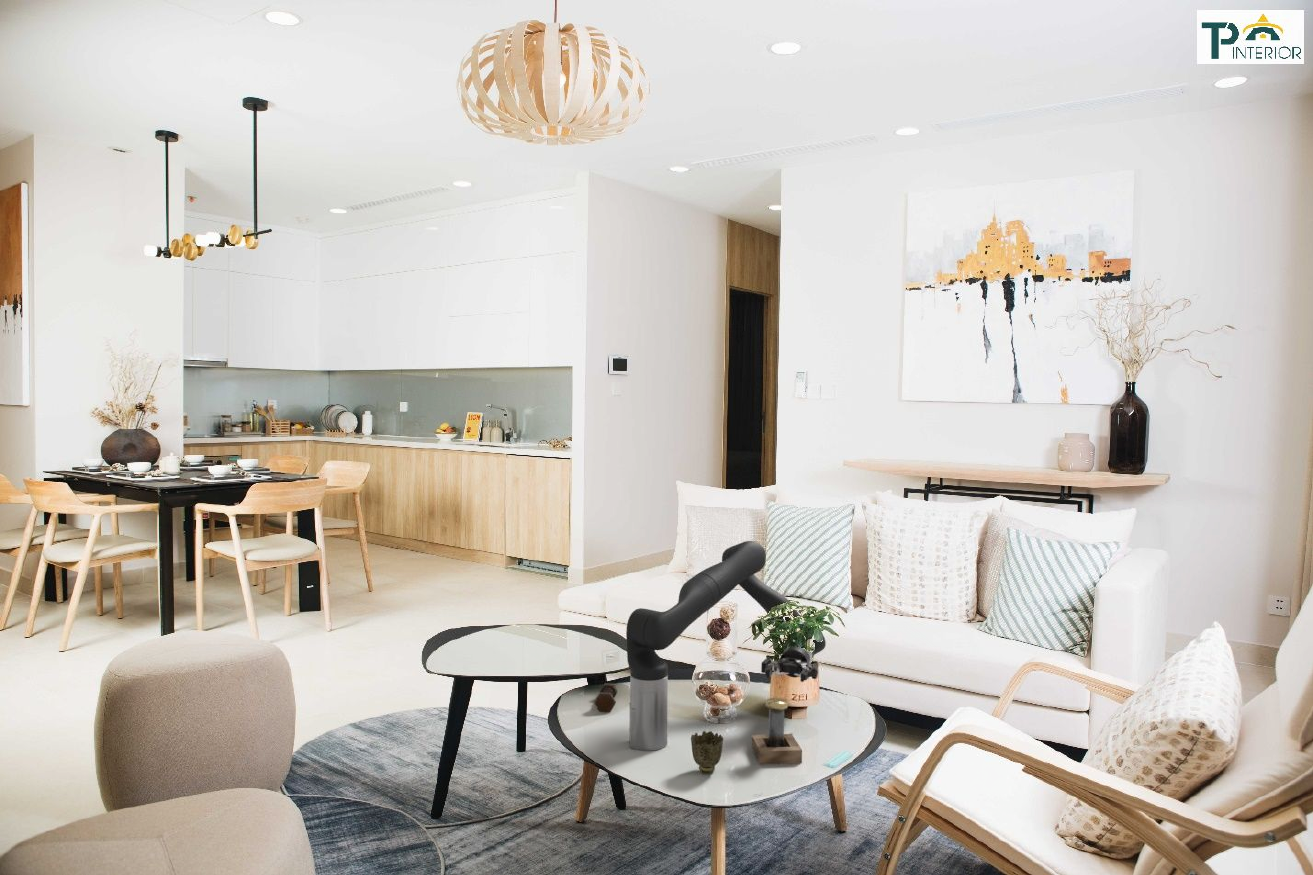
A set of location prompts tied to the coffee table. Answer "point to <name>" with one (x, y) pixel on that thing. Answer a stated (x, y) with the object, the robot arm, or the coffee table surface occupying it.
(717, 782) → the coffee table surface
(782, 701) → the pin
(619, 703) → the coffee table surface
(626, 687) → the coffee table surface
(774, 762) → the socket block
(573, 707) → the coffee table surface
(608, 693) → the brown hex dumbbell
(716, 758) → the cup
